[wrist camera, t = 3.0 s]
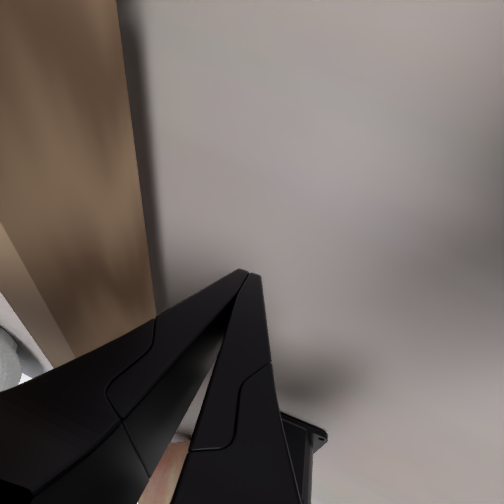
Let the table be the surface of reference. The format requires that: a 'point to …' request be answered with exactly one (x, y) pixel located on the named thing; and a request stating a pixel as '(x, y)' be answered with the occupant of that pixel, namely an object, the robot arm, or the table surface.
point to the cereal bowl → (8, 362)
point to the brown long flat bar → (69, 178)
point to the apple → (165, 475)
